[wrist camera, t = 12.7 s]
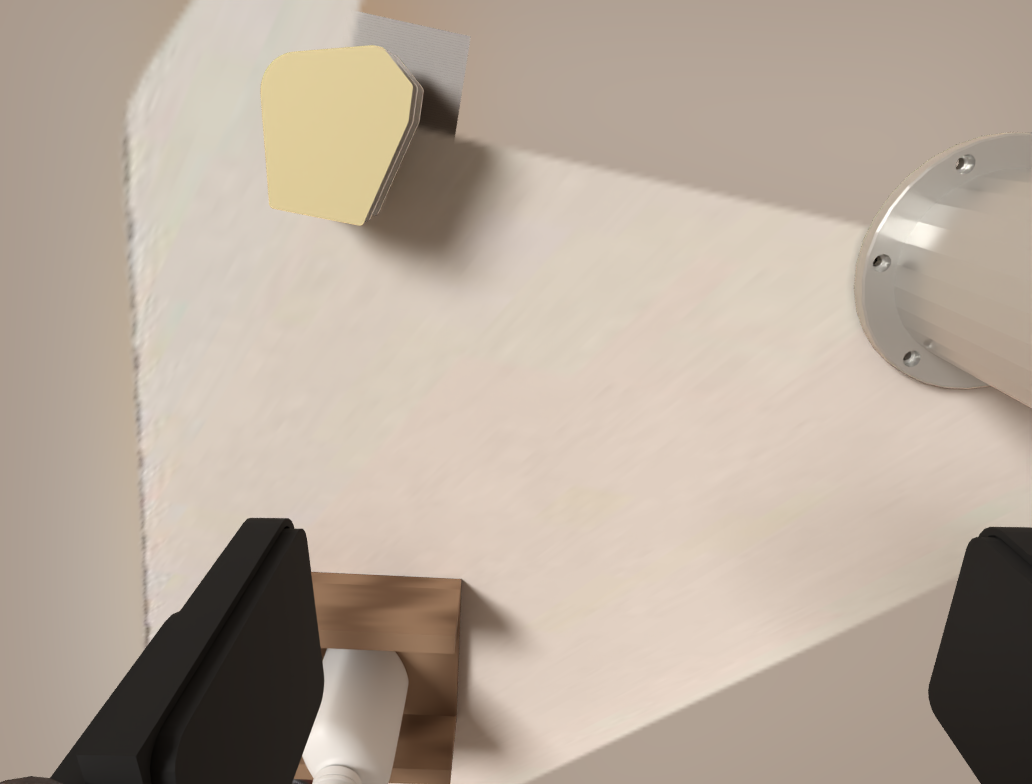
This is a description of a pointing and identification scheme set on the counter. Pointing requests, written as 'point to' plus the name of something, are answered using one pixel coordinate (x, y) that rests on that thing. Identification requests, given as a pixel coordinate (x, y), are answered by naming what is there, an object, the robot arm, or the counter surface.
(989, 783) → the robot arm
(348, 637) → the open wooden box
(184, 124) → the counter surface
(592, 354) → the counter surface
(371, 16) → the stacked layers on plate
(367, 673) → the eye dropper bottle
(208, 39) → the counter surface
